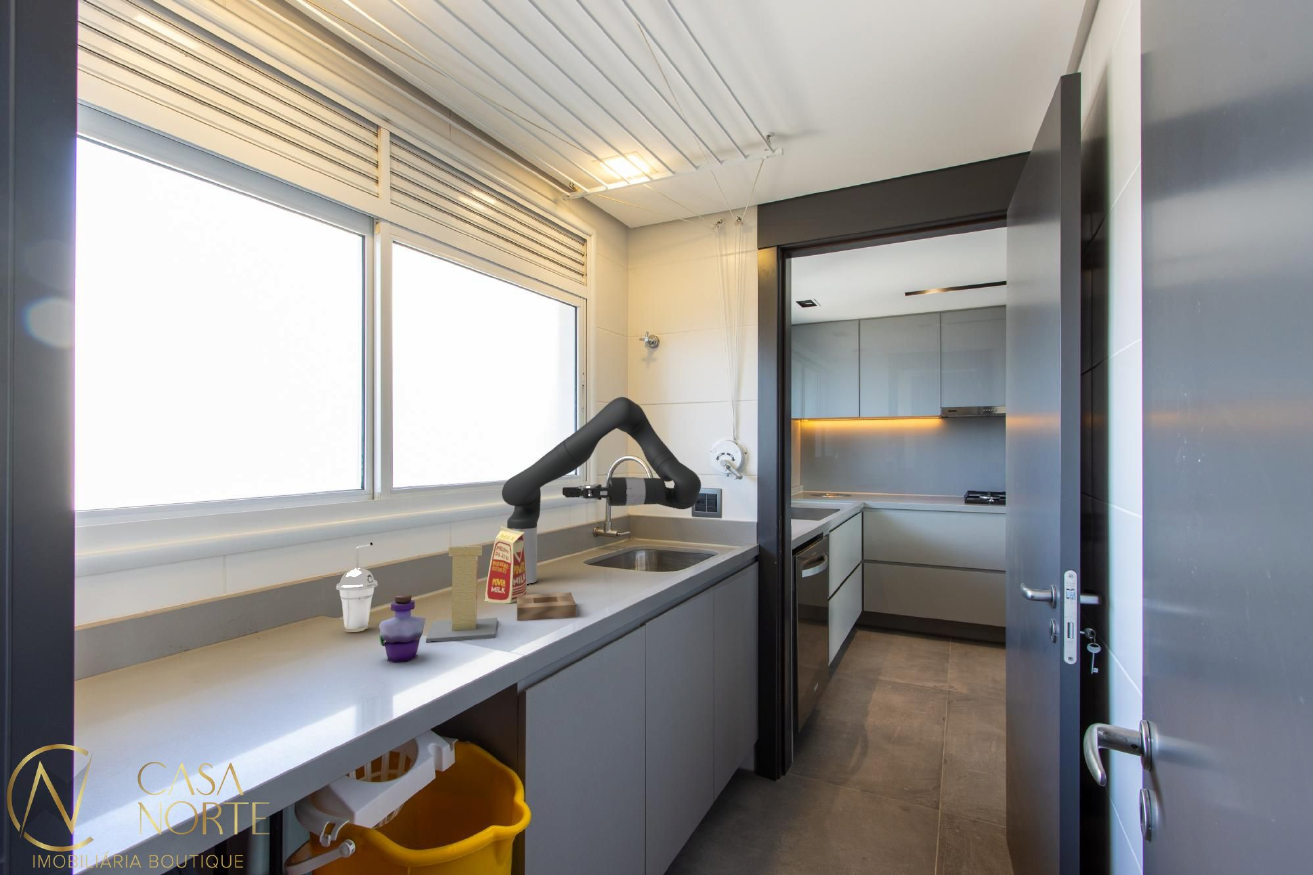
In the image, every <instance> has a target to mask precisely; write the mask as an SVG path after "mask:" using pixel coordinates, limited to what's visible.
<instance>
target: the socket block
mask: <svg viewBox="0 0 1313 875" xmlns="http://www.w3.org/2000/svg"><path fill="white" fill-rule="evenodd" d="M576 617H577V604H576V601H575V599H574V596H573V593H572V592H557V593H556V592H555V593H553V592H552V593H534V594H533V593H532V594H527V595H517V601H516V621H520V622H521V621H533V620H547V619H548V620H549V619H552V620H553V619H563V618H564V619H567V618H576Z"/></svg>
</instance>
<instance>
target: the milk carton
mask: <svg viewBox="0 0 1313 875" xmlns="http://www.w3.org/2000/svg"><path fill="white" fill-rule="evenodd" d="M499 528H500V531H499V533H498V534H497V536H495V540H494V544H493V548H492V553H491V557H490V560H489V562H490V563H489V567H488V573H487V574H488V575H487V579H486V586H485V594H484V601H488V602H487V603H494V604H495V603H496V604H512V603H517V595H528V588H527V586H528V585H527V580H526V564H525V551H524V541H523V536H522V535H523V534H524V533H525V532H520V531H514V530H511V529H508V528H507V527H505V526H502V525H500V526H499Z"/></svg>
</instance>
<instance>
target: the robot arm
mask: <svg viewBox="0 0 1313 875" xmlns="http://www.w3.org/2000/svg"><path fill="white" fill-rule="evenodd" d="M616 429H618V430H619V431H621V432H622V433H623V432H624V433H625V434H627V435H628V436H629V437H631V438H632V440H634V441H635V442H636V443H637V444H638V445H639V447H640V448H641V450H642V453H643V455H644V457H645V460H646V462H647V463H648V464H649V466H650V468H652V469H653V472H655V474H656V475H657V476H658V477H635V476H629V477H628V476H625V477H623V476H621V477H620V476H615V477H614V476H611V477H610V476H609V477H607V478H608V479H607V481H606V486H603V485H602V484H601V483H594V484H584V485H578V486H565V487H562V493H561V494H562V496H564V497H565V498H567V499H568V498H569V499H570V498H580V499H585V500H595V501H596V500H597V501H601V500H602V499H606V502H607V505H608V506H609V507H627V506H628V507H632V506H633V507H634V506H642V505H660V506H662V507H668V508H672V509H676V510H687V509H690V508H692V507H693V506H695V504H696V503H697V501H698V498H699V494H700V492H701V488H702V482H701V479H700V477H699V476H698V474H697V473H696V472H695V471H693V470H692V469H691V468H689V467H687V466H686V465H685V464H683V463H681V462H680V461H679V460H678V458H677V457H676V456H675V455H674V453H673V452H672V451H671V450H670V448H669V447H668V446H667V445H666V444H665V443H664V441H662V438H660V437H659V435H658V434H657V432H656V431H655V430H654V428H653V426H652V424H651V422H650V420H649V419H648V417H647V414H646V413H645V411H644V410H643V408H642V407H641V406H640V405H639V404H638V403H636V402H634V401H633V400H632V399H630V398H628V397H625V396H620V397H616V398H614V399H613V400H611V401H609V402H608V403H607V404H606V405H605V406H604V407H603V408H602V409H601V410H599V412H598V413H596V414H595V416H593V417H592V418H591V419H590V420H589V421H588V422H586V423H585V424H584V425H582V426H580V428H579V429H577V430H576V431H575V432H573V433H572V434H571V435H569V436H567V437H566V438H565V439H563V440H562V441H561V442H560V443H559V444H557V445H556V446H555V447H554V448H552V449H551V450H550V451H548V452H547V453H545V454H544V455H543V456H542V457H541V458H539V459H538V460H537V461H535V463H533V464H532V465H530V466H529V467H527V468H526V469H524V470H522V471H520V472H519V473H517V474H516V475H515V474H514V475H513V476H512V477H510V478H509V479H508V480H507V481H506V482H505V483H504V484H503V487H502V489H501V497H502V500H503V501H504V502H505V503H506V504H507V505H510V506H512V507H514V508H513V512H512V514H511V515H510V516H509V517H508V518H507V521H506V528H508V529H511V530H514V531H520V532H525V533H524V534H523V535H522V536H523V541H524V551H525V564H526V580H527V583H533V582H536V581H538V580H537V579H538V522H539V519H540V514H541V498H542V496H541V493H542V491H541V488H542V487H544V486H545V485H547V484H549V483H551V482H553V481H556V480H558V479H560V478H563V477H565V476H567V475H569V474H570V473H572V472H574V471H575V470H577V469H579V468H580V467H581V466H582V465H583V464H585V463H586V462H588V461H589V459H590V458H591V457H592V455H593V453H594V451H595V449H596V447H597V445H598V444H599V442H600V441H601V440H602V439H603V438H605V436H607V435H608V434H610V433H611V432H613V431H614V430H616ZM672 481H673V483H674V484H673V487H667V485H666V483H670V482H672ZM536 583H537V582H536Z"/></svg>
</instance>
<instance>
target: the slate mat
mask: <svg viewBox="0 0 1313 875" xmlns="http://www.w3.org/2000/svg"><path fill="white" fill-rule="evenodd" d="M497 626H498V617H486V618H485V617H484V618H482V617H481V618H477V626H476V629H475V630H461V631H452V619H451V620H435V621H434V622H433V624H432V627H431V628H430V630H429V632H428V634H427V636H426V638H425V643H432V642H431V641H441V642H451V641H452V642H453V641H454V642H455V641H467V640H468V641H469V640H483V639H495V638H496V635H497V634H496V633H497Z"/></svg>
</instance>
